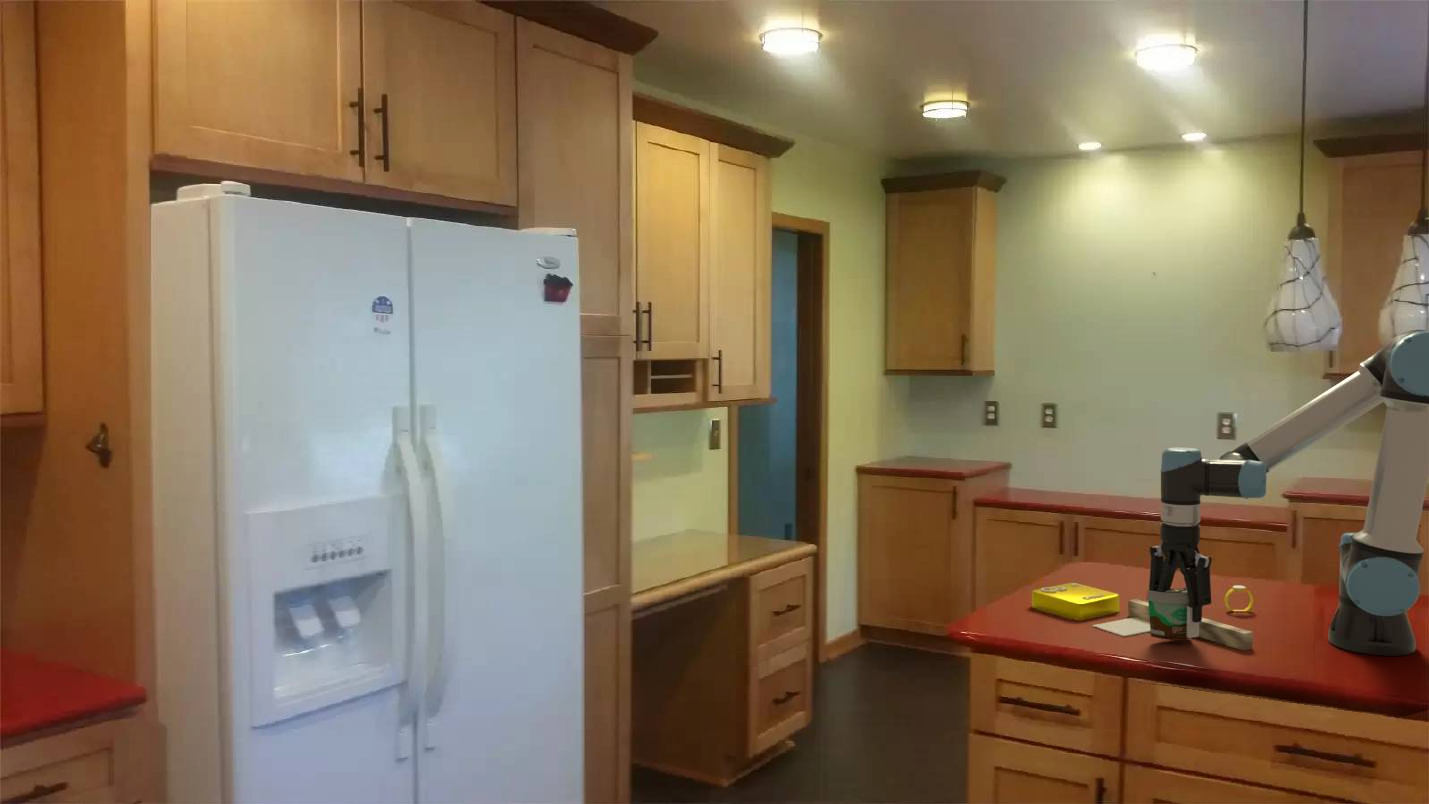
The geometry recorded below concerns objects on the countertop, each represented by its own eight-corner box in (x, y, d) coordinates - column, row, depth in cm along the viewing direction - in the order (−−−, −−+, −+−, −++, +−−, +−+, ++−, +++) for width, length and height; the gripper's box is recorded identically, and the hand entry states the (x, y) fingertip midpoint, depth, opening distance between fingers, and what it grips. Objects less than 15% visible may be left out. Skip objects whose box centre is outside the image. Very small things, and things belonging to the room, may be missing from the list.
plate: (1167, 628, 232) (1167, 627, 232) (1123, 637, 226) (1123, 635, 226) (1135, 618, 240) (1135, 617, 240) (1092, 626, 235) (1092, 625, 235)
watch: (1228, 614, 243) (1226, 589, 242) (1223, 611, 246) (1222, 586, 245) (1255, 613, 242) (1254, 587, 242) (1251, 609, 245) (1249, 584, 245)
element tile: (1077, 623, 239) (1077, 602, 239) (1027, 608, 252) (1027, 588, 252) (1123, 613, 246) (1123, 592, 246) (1072, 599, 259) (1072, 579, 259)
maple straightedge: (1252, 648, 217) (1252, 631, 216) (1242, 650, 215) (1242, 634, 215) (1136, 614, 244) (1136, 599, 243) (1126, 615, 242) (1126, 600, 242)
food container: (1169, 645, 216) (1169, 596, 215) (1145, 637, 222) (1145, 590, 221) (1212, 636, 221) (1213, 589, 220) (1188, 629, 227) (1189, 582, 226)
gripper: (1130, 517, 227) (1129, 623, 228) (1207, 532, 209) (1205, 647, 211) (1155, 514, 230) (1154, 619, 232) (1233, 528, 213) (1231, 641, 214)
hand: (1178, 632), depth 221 cm, fingers closed on food container, 6 cm apart
